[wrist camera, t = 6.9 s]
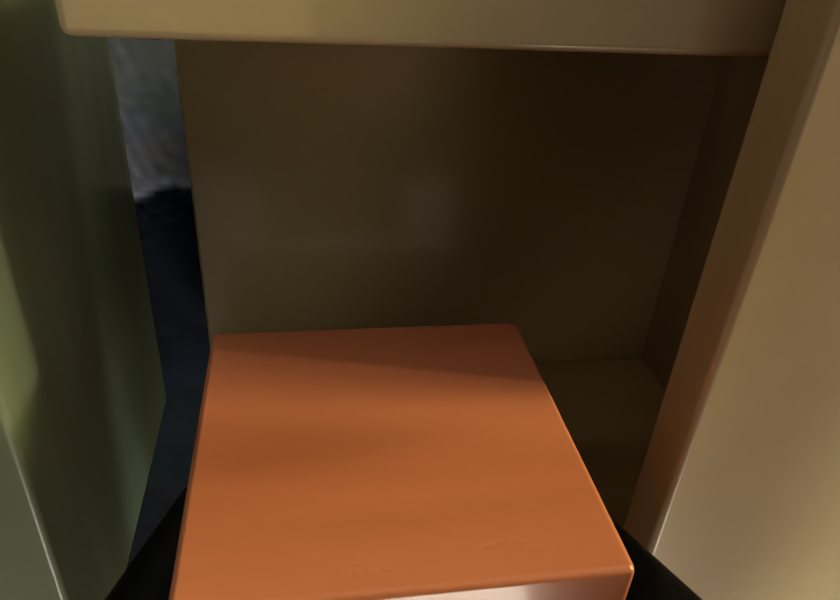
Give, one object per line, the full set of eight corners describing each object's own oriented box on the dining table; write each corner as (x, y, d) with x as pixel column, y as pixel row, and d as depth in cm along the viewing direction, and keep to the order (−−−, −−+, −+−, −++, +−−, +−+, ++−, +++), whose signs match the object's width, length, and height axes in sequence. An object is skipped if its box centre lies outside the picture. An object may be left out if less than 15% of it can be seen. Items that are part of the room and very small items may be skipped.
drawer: (-76, 411, 16) (-298, 741, 10) (-313, -184, 10) (-1195, -252, 4) (639, 376, 19) (801, 618, 13) (773, -107, 13) (1192, -80, 7)
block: (484, 523, 12) (563, 791, 8) (236, 543, 11) (211, 843, 8) (516, 320, 10) (639, 569, 6) (212, 331, 9) (163, 615, 6)
